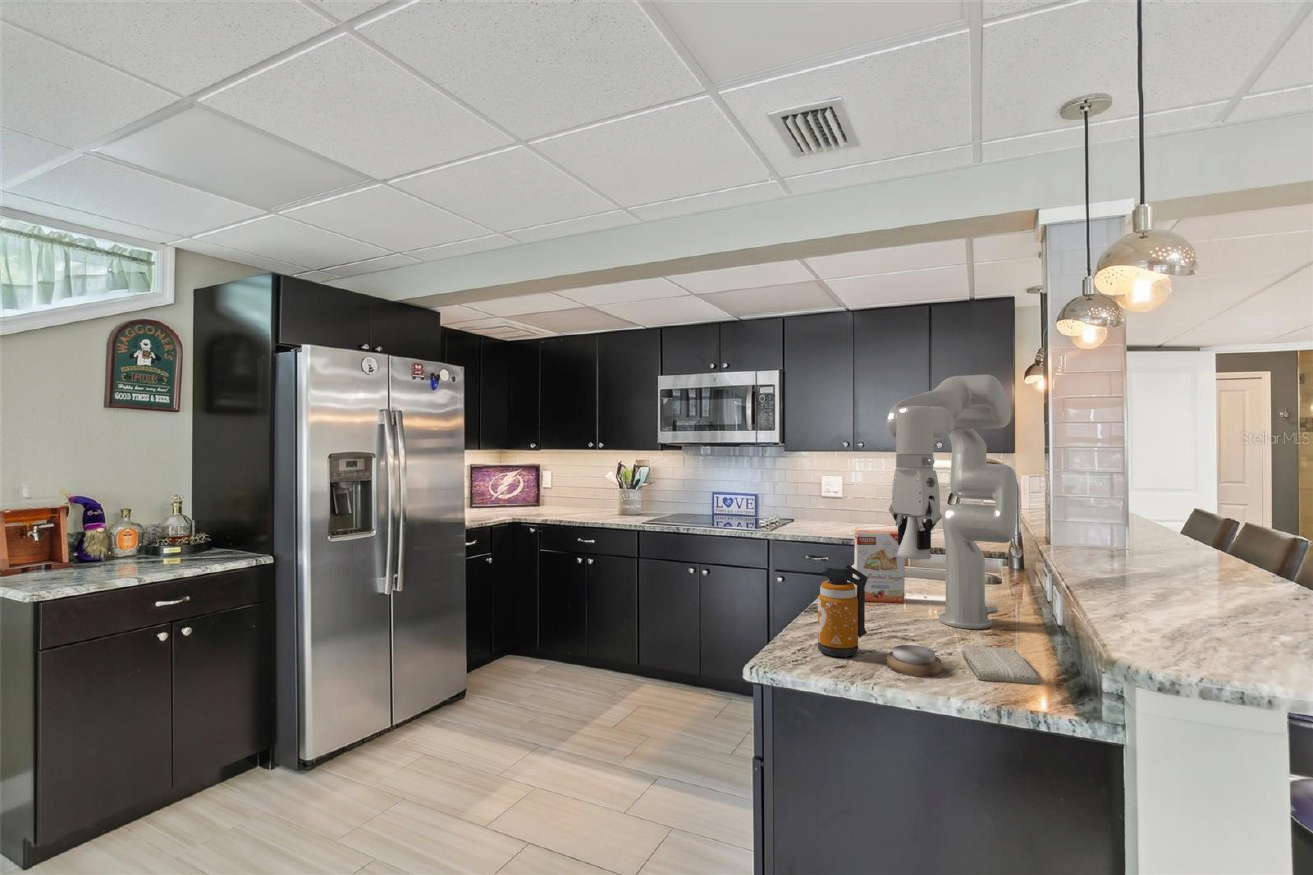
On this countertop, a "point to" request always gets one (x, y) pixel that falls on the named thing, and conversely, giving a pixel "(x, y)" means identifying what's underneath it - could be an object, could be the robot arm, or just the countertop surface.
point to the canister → (841, 611)
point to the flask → (912, 542)
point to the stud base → (912, 668)
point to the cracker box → (880, 565)
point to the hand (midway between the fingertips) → (914, 546)
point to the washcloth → (998, 665)
